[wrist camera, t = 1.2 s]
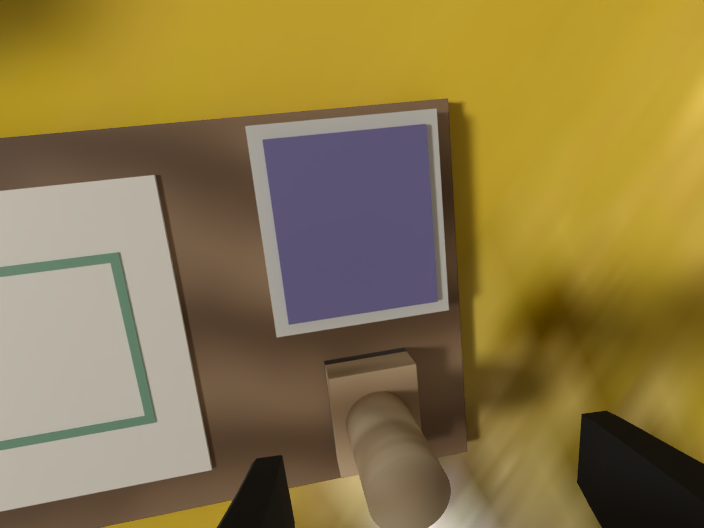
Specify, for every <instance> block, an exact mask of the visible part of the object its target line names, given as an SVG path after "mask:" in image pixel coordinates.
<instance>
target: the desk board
mask: <svg viewBox="0 0 704 528" xmlns="http://www.w3.org/2000/svg"><path fill="white" fill-rule="evenodd" d="M426 109H437V122H438V139H439V155H440V172H441V188H442V205H443V221H444V238H445V254H446V271H447V287H448V304H449V310H447V311H441V312H434V313H428V314H422V315H415V316H409V317H403V318H397V319H390V320H384V321H378V322H371V323H365V324H359V325H353V326H346V327H340V328H334V329H327V330H321V331H315V332H309V333H302V334H296V335H290V336H283V337H276V330H275V323H274V316H273V310H272V303H271V296H270V290H269V283H268V276H267V269H266V263H265V256H264V249H263V243H262V236H261V229H260V223H259V216H258V209H257V202H256V196H255V189H254V182H253V176H252V169H251V162H250V156H249V149H248V142H247V135H246V129H245V126H251V125H262V124H273V123H284V122H295V121H306V120H317V119H328V118H338V117H349V116H360V115H371V114H382V113H393V112H404V111H415V110H426ZM149 175H155V176H156V181H157V186H158V191H159V196H160V201H161V206H162V211H163V217H164V222H165V227H166V232H167V237H168V242H169V247H170V253H171V258H172V263H173V268H174V273H175V278H176V283H177V288H178V294H179V299H180V304H181V309H182V314H183V319H184V324H185V330H186V335H187V340H188V345H189V350H190V355H191V360H192V365H193V371H194V376H195V381H196V386H197V391H198V396H199V401H200V407H201V412H202V417H203V422H204V427H205V432H206V437H207V442H208V448H209V453H210V458H211V463H212V470H209V471H204V472H199V473H194V474H189V475H184V476H179V477H174V478H169V479H164V480H159V481H154V482H149V483H143V484H138V485H133V486H128V487H123V488H118V489H113V490H108V491H103V492H98V493H93V494H88V495H82V496H77V497H72V498H67V499H62V500H57V501H52V502H47V503H42V504H37V505H32V506H27V507H21V508H16V509H11V510H6V511H1V512H0V528H100V527H105V526H110V525H114V524H119V523H124V522H129V521H134V520H139V519H143V518H148V517H153V516H158V515H163V514H167V513H172V512H177V511H182V510H187V509H192V508H196V507H201V506H206V505H211V504H216V503H221V502H225V501H230V500H233V499H234V497H235V495H236V494H237V492H238V490H239V488H240V486H241V484H242V482H243V480H244V479H245V477H246V475H247V473H248V471H249V469H250V467H251V465H252V463H253V462H254V460H255V459H256V458H262V457H270V456H277V455H282V456H283V462H284V467H285V473H286V478H287V484H288V488H293V487H298V486H303V485H307V484H312V483H317V482H322V481H327V480H331V479H336V478H341V475H340V471H339V466H338V462H337V457H336V453H335V445H334V437H333V429H332V421H331V413H330V405H329V398H328V390H327V382H326V374H325V366H324V361H327V360H332V359H338V358H344V357H350V356H356V355H362V354H368V353H374V352H380V351H386V350H392V349H398V348H403V347H404V348H405V350H406V351H407V352H408V354H409V355H410V356H411V358H412V359H413V361H414V362H415V363H416V369H417V382H418V394H419V407H420V420H421V431H422V433H423V435H424V437H425V438H426V440H427V442H428V444H429V445H430V447H431V449H432V451H433V452H434V454H435V456H436V458H438V457H442V456H447V455H452V454H457V453H462V452H467V436H466V418H465V400H464V381H463V363H462V345H461V327H460V309H459V291H458V273H457V255H456V237H455V219H454V200H453V182H452V164H451V146H450V128H449V110H448V99H437V100H426V101H414V102H403V103H392V104H380V105H369V106H358V107H347V108H335V109H324V110H313V111H302V112H290V113H279V114H268V115H256V116H245V117H234V118H223V119H211V120H200V121H189V122H178V123H166V124H155V125H144V126H133V127H121V128H110V129H99V130H87V131H76V132H65V133H54V134H42V135H31V136H20V137H9V138H0V191H5V190H14V189H24V188H33V187H43V186H53V185H62V184H72V183H82V182H91V181H101V180H110V179H120V178H130V177H139V176H149Z"/></svg>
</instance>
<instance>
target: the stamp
mask: <svg viewBox="0 0 704 528" xmlns="http://www.w3.org/2000/svg"><path fill="white" fill-rule="evenodd" d="M324 366H325V374H326V382H327V390H328V398H329V405H330V413H331V421H332V429H333V437H334V445H335V453H336V457H337V462H338V466H339V471H340V475H341V478H344V477H349V476H353V475H358V474H359V477H360V480H361V484H362V487H363V491H364V494H365V498H366V501H367V505H368V508H369V512H370V515H371V517H372V519H373V520H374V522H375V523H376V524H377V525H378V526H379V527H380V528H428V527H429V526H431V525H432V524H434V523H435V522H436V521H437V520H438V519H439V518H440V517H441V515H442V514H443V513H444V511H445V509H446V508H447V505H448V503H449V499H450V494H451V488H450V483H449V479H448V477H447V475H446V473H445V472H444V470H443V468H442V466H441V465H440V463H439V461H438V459H437V458H436V456H435V454H434V452H433V451H432V449H431V447H430V445H429V444H428V442H427V440H426V438H425V437H424V435H423V433H422V431H421V420H420V407H419V394H418V382H417V369H416V363H415V362H414V361H413V359H412V358H411V356H410V355H409V354H408V352H407V351H406V350H405V348H404V347H403V348H398V349H392V350H386V351H380V352H374V353H368V354H362V355H356V356H350V357H344V358H338V359H332V360H327V361H324Z"/></svg>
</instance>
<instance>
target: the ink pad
mask: <svg viewBox="0 0 704 528" xmlns="http://www.w3.org/2000/svg"><path fill="white" fill-rule="evenodd" d="M245 129H246V135H247V142H248V149H249V156H250V162H251V169H252V176H253V182H254V189H255V196H256V202H257V209H258V216H259V223H260V229H261V236H262V243H263V249H264V256H265V263H266V269H267V276H268V283H269V290H270V296H271V303H272V310H273V316H274V323H275V330H276V337H283V336H290V335H296V334H302V333H309V332H315V331H321V330H327V329H334V328H340V327H346V326H353V325H359V324H365V323H371V322H378V321H384V320H390V319H397V318H403V317H409V316H415V315H422V314H428V313H434V312H441V311H447V310H449V304H448V287H447V271H446V254H445V238H444V221H443V205H442V188H441V172H440V155H439V139H438V122H437V109H426V110H415V111H404V112H393V113H382V114H371V115H360V116H349V117H338V118H328V119H317V120H306V121H295V122H284V123H273V124H262V125H251V126H245Z"/></svg>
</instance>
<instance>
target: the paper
mask: <svg viewBox="0 0 704 528" xmlns="http://www.w3.org/2000/svg"><path fill="white" fill-rule="evenodd" d="M209 470H212V463H211V458H210V453H209V448H208V442H207V437H206V432H205V427H204V422H203V417H202V412H201V407H200V401H199V396H198V391H197V386H196V381H195V376H194V371H193V365H192V360H191V355H190V350H189V345H188V340H187V335H186V330H185V324H184V319H183V314H182V309H181V304H180V299H179V294H178V288H177V283H176V278H175V273H174V268H173V263H172V258H171V253H170V247H169V242H168V237H167V232H166V227H165V222H164V217H163V211H162V206H161V201H160V196H159V191H158V186H157V181H156V176H155V175H149V176H139V177H130V178H120V179H110V180H101V181H91V182H82V183H72V184H62V185H53V186H43V187H33V188H24V189H14V190H5V191H0V512H1V511H6V510H11V509H16V508H21V507H27V506H32V505H37V504H42V503H47V502H52V501H57V500H62V499H67V498H72V497H77V496H82V495H88V494H93V493H98V492H103V491H108V490H113V489H118V488H123V487H128V486H133V485H138V484H143V483H149V482H154V481H159V480H164V479H169V478H174V477H179V476H184V475H189V474H194V473H199V472H204V471H209Z"/></svg>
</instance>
